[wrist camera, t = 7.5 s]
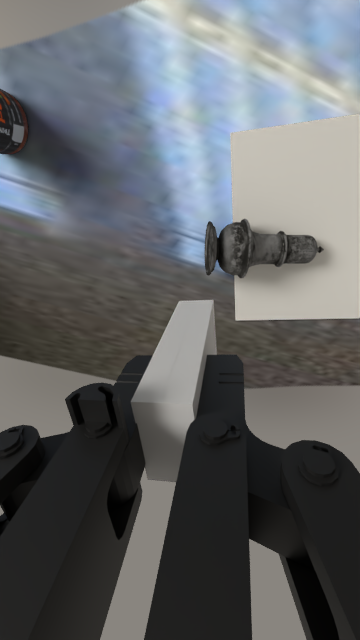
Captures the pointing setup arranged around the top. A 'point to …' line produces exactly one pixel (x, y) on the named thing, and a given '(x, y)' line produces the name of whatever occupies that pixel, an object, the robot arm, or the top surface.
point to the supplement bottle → (12, 124)
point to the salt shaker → (255, 248)
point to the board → (301, 216)
